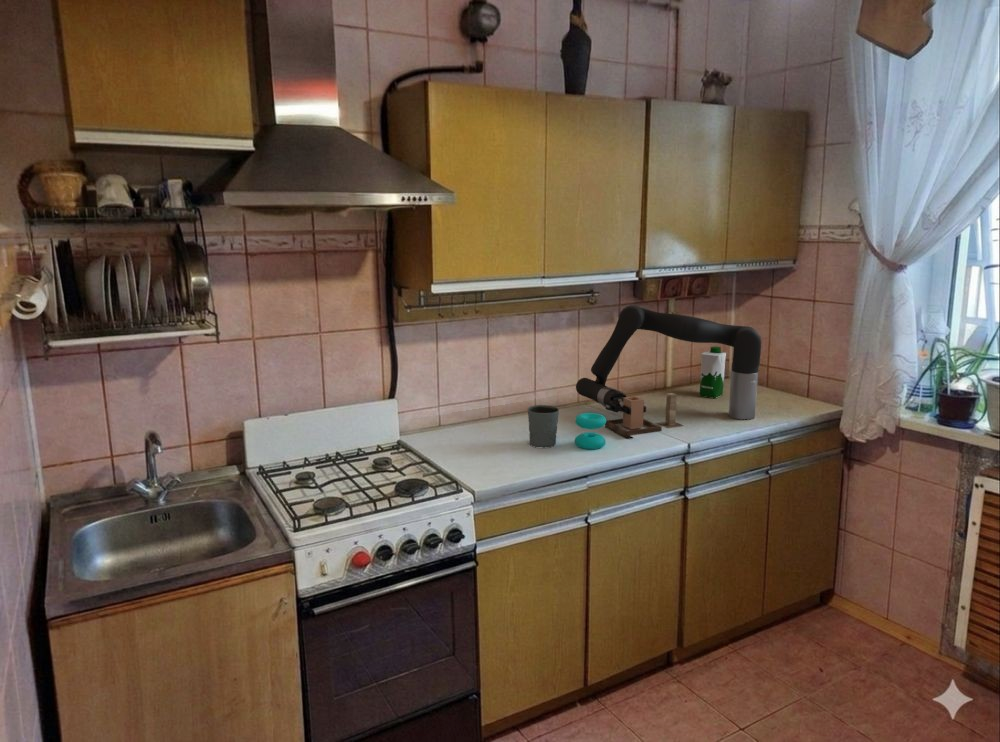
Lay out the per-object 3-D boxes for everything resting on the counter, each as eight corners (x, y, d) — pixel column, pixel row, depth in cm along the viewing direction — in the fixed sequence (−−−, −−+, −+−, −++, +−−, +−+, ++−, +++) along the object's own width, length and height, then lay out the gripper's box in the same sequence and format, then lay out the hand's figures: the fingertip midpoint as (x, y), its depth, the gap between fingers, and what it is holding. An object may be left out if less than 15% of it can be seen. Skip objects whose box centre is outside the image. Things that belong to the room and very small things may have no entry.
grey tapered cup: (522, 442, 231) (521, 407, 228) (546, 437, 236) (546, 403, 233) (539, 450, 222) (540, 414, 220) (564, 445, 228) (565, 409, 225)
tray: (604, 427, 246) (605, 420, 246) (638, 422, 251) (638, 416, 251) (626, 438, 233) (626, 432, 233) (661, 433, 239) (661, 427, 238)
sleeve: (622, 425, 243) (623, 397, 241) (634, 423, 245) (635, 396, 243) (630, 429, 239) (631, 401, 237) (643, 427, 241) (643, 399, 239)
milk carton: (725, 395, 288) (728, 347, 284) (716, 399, 281) (719, 351, 277) (705, 391, 294) (708, 345, 289) (696, 396, 287) (698, 348, 282)
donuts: (612, 418, 222) (584, 421, 219) (611, 448, 225) (583, 452, 221) (597, 410, 231) (570, 413, 228) (596, 439, 234) (569, 442, 230)
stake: (655, 425, 248) (657, 392, 245) (672, 423, 250) (673, 390, 248) (667, 431, 242) (669, 397, 239) (684, 428, 244) (686, 395, 242)
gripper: (594, 390, 250) (620, 402, 235) (628, 386, 255) (655, 397, 240) (594, 411, 252) (619, 423, 236) (628, 406, 257) (654, 418, 242)
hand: (637, 410), depth 238 cm, fingers open, 5 cm apart
